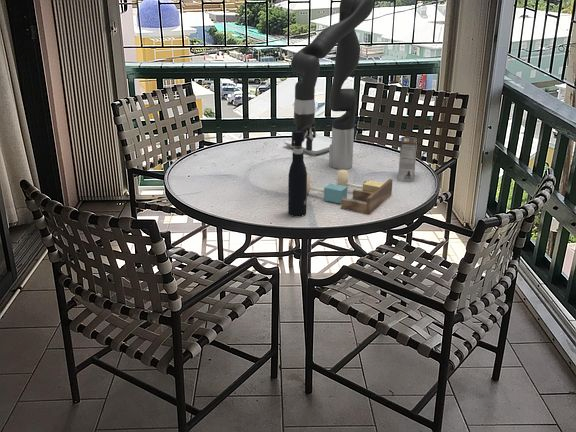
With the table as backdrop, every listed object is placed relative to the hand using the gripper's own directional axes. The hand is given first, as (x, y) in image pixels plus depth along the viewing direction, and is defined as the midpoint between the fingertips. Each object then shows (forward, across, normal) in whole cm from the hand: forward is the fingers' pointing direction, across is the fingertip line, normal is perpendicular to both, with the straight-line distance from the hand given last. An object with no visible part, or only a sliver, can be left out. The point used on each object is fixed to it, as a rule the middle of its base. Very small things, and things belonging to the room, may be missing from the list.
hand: (303, 153), depth 232 cm
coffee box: (+16, -37, +28) cm, 49 cm away
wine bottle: (+16, +18, +8) cm, 25 cm away
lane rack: (+16, -5, +24) cm, 29 cm away
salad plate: (+18, -55, -24) cm, 62 cm away
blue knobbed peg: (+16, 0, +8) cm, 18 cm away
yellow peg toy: (+16, -11, +19) cm, 27 cm away
